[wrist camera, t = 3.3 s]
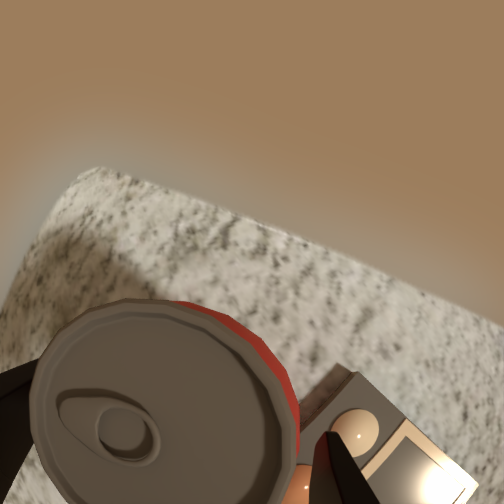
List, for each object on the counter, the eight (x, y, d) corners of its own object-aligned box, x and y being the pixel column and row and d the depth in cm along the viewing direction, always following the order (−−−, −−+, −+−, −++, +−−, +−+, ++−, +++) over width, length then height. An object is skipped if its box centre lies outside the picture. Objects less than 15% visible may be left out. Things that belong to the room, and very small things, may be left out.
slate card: (383, 574, 9) (389, 580, 8) (231, 485, 13) (230, 492, 12) (471, 482, 12) (480, 484, 11) (352, 372, 16) (359, 371, 15)
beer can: (162, 331, 16) (44, 248, 5) (273, 351, 16) (345, 298, 5) (144, 435, 14) (11, 499, 3) (256, 457, 14) (291, 584, 3)
